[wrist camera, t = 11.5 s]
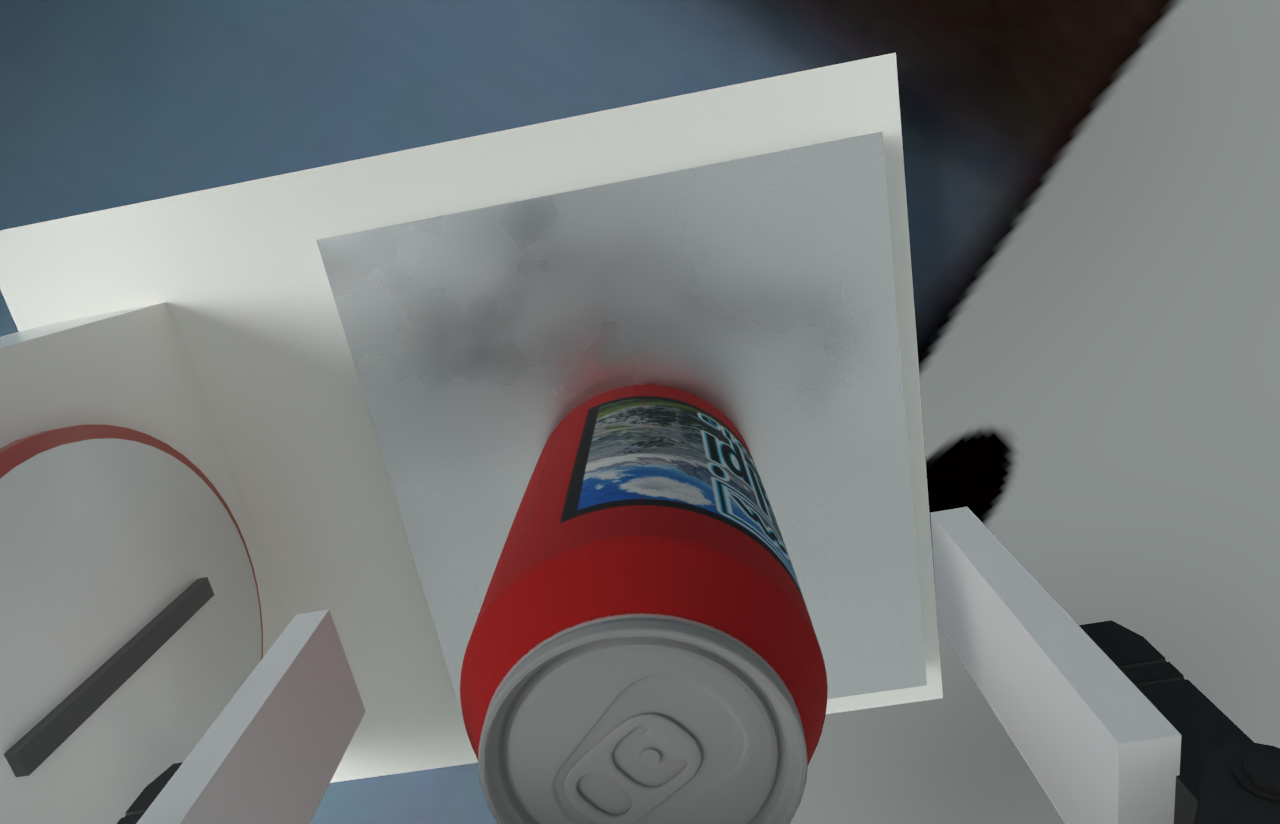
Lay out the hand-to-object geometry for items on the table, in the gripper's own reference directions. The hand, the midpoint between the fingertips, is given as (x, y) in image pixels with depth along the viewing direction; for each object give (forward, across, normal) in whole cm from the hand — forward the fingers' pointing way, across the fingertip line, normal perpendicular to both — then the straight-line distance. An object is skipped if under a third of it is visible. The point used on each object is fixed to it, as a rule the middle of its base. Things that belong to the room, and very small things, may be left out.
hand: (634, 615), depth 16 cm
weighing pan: (+9, 0, 0) cm, 9 cm away
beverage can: (+8, 0, 0) cm, 8 cm away
